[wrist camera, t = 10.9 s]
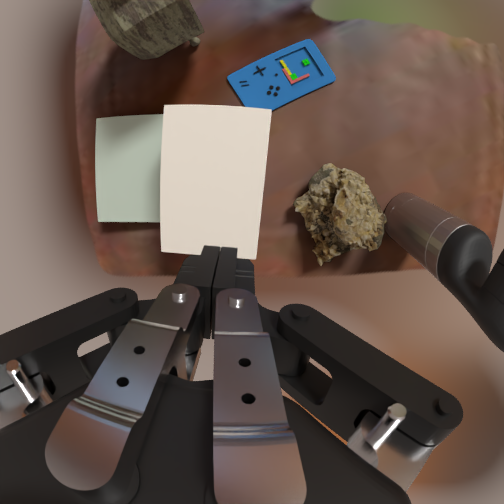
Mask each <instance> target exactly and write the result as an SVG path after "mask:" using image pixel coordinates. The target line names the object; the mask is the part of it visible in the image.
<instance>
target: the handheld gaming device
mask: <svg viewBox="0 0 504 504" xmlns="http://www.w3.org/2000/svg"><path fill="white" fill-rule="evenodd" d="M227 79H228V81H229V83H230V84H231V86H232V87H233V89H234V90H235V92H236V93H237V95H238V96H239V98H240V99H241V101H242V103H243V104H244V106H245V107H251V108H262V109H272V111H273V110H274V109H276V108H278V107H280V106H282V105H284V104H286V103H288V102H290V101H292V100H294V99H296V98H299V97H301V96H303V95H305V94H307V93H309V92H311V91H314V90H316V89H318V88H320V87H322V86H325V85H327V84H329V83H332V82H334V81H335V80H336V77H335V75H334V73H333V72H332V70H331V68H330V67H329V65H328V64H327V62H326V60H325V59H324V57H323V56H322V54H321V53H320V51H319V50H318V48H317V47H316V45H315V44H314V42H313V41H312V40H310V39H306V40H303V41H301V42H298V43H296V44H293V45H291V46H288V47H286V48H284V49H281V50H279V51H277V52H275V53H272V54H270V55H268V56H266V57H264V58H262V59H260V60H258V61H255V62H253V63H251V64H249V65H247V66H246V67H244V68H242V69H240V70H238V71H236V72H234V73H232V74H230V75H229V76H228V77H227Z"/></svg>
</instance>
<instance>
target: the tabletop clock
mask: <svg viewBox="0 0 504 504" xmlns="http://www.w3.org/2000/svg"><path fill="white" fill-rule="evenodd" d="M89 1H90V3H91V5H92V7H93V9H94V11H95V13H96V15H97V17H98V19H99V20H100V22H101V24H102V26H103V28H104V29H105V31H106V33H107V34H108V35H109V37H110V38H111V39H112V40H113V41H114V42H115V43H116V44H117V45H119V46H120V47H121V48H123V49H125V50H126V51H128V52H129V53H131V54H132V55H134V56H136V57H138V58H140V59H142V60H144V59H152V58H158V57H160V56H162V55H163V54H165V53H167V52H168V51H170V50H172V49H174V48H175V47H177V46H179V45H181V44H182V43H184V42H186V41H190V45H192V46H197V45H199V43H200V39H199V38H197V37H196V36H198V35H200V34H202V33H204V30H203V28H202V25H201V23H200V21H199V19H198V17H197V15H196V13H195V11H194V9H193V7H192V5H191V3H190V2H189V0H89Z"/></svg>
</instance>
